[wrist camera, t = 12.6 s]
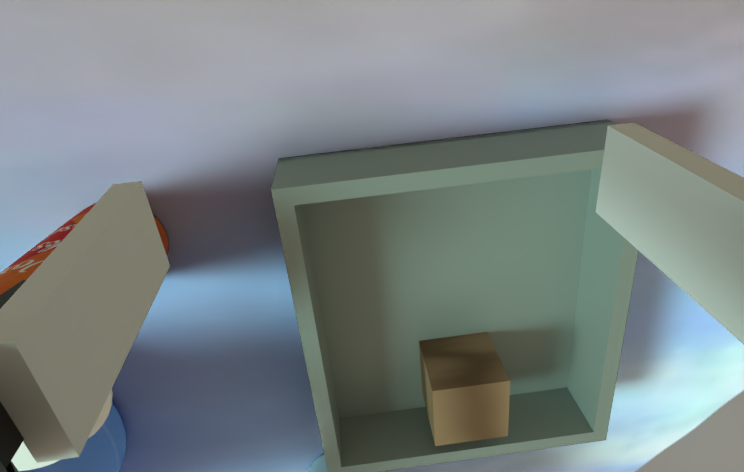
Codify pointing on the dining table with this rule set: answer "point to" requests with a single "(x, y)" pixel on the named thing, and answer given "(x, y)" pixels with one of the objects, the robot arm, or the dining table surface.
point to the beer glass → (319, 465)
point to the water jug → (97, 450)
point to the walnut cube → (464, 388)
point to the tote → (455, 286)
